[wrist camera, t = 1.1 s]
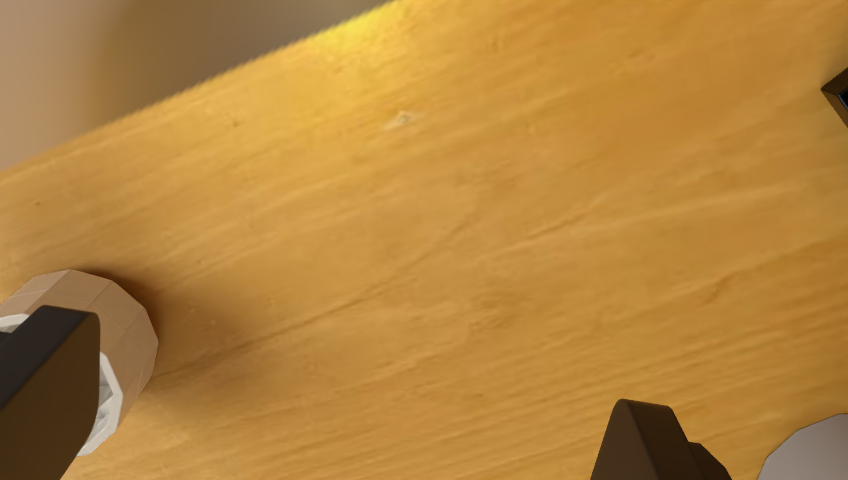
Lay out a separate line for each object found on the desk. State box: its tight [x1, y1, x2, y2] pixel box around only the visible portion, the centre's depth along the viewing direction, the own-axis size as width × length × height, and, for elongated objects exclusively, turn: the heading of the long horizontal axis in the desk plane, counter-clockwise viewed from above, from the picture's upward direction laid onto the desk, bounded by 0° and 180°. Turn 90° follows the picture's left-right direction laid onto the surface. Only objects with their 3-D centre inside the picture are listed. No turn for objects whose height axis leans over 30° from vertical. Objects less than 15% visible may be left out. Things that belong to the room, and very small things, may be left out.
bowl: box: [0, 269, 159, 457], centre depth 31 cm, size 6×6×4 cm
